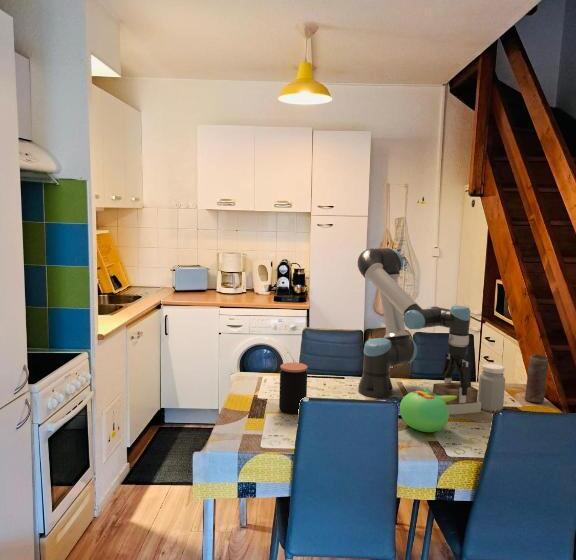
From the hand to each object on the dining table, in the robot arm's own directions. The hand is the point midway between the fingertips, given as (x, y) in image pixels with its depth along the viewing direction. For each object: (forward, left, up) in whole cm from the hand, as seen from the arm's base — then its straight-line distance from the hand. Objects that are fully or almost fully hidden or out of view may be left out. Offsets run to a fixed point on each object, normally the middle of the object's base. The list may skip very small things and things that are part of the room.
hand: (454, 398), depth 203 cm
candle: (+41, +2, -5) cm, 41 cm away
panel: (0, 0, -5) cm, 5 cm away
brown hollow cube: (0, 0, 0) cm, 0 cm away
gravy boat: (-22, -16, -5) cm, 28 cm away
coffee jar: (-65, +10, -5) cm, 66 cm away
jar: (+16, -2, -5) cm, 16 cm away
